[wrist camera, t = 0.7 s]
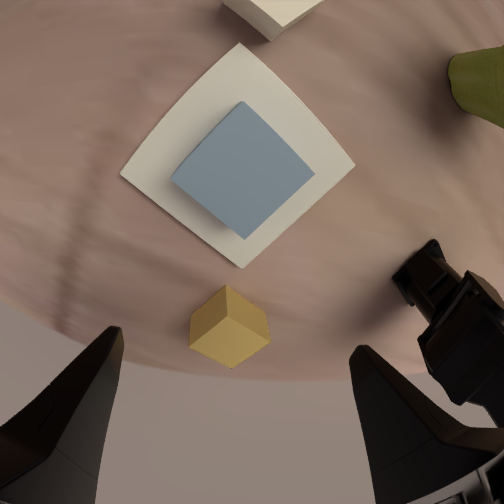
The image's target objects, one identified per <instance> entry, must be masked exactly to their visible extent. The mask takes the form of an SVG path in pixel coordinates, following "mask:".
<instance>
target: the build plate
mask: <svg viewBox="0 0 504 504" xmlns="http://www.w3.org/2000/svg"><path fill="white" fill-rule="evenodd" d="M241 101H244V102H245V103H246V104H247V105H248V106H249V107H251V108H252V109H253V110H254V111H255V112H256V113H257V114H258V115H259V116H260V117H261V118H262V119H263V120H264V121H265V122H266V123H267V124H268V125H269V126H270V127H271V128H272V129H273V130H274V131H275V132H276V133H277V134H278V135H279V136H280V137H281V138H282V139H283V140H284V141H285V142H286V143H287V144H288V145H289V146H290V147H291V148H292V149H293V150H294V151H295V152H296V153H297V154H298V156H299V157H300V158H301V159H302V160H303V161H304V162H305V163H306V164H307V165H308V166H309V167H310V169H311V170H312V171H313V172H314V173H315V175H314V176H313V177H312V178H310V179H309V180H308V181H307V182H306V183H305V184H304V185H303V186H302V187H301V188H300V189H299V190H298V191H296V192H295V193H294V194H293V195H292V196H291V197H290V198H289V199H288V200H287V201H286V202H285V203H284V204H282V205H281V206H280V207H279V208H278V209H277V210H276V211H275V212H274V213H273V214H272V215H271V216H270V217H269V218H268V219H266V220H265V221H264V222H263V223H262V224H261V225H260V226H259V227H258V228H257V229H256V230H255V231H254V232H253V233H252V234H251V235H250V236H248V237H247V238H246V239H245V240H244V239H243V238H241V237H240V236H239V235H238V234H236V233H235V232H234V231H233V230H232V229H230V228H229V227H228V226H227V225H226V224H224V223H223V222H222V221H221V220H219V219H218V218H217V217H216V216H215V215H213V214H212V213H211V212H210V211H208V210H207V209H206V208H205V207H204V206H202V205H201V204H200V203H199V202H197V201H196V200H195V199H194V198H193V197H191V196H190V195H189V194H188V193H186V192H185V191H184V190H183V189H182V188H180V187H179V186H178V185H177V184H175V183H174V182H173V181H172V180H171V179H170V178H171V176H172V174H173V173H174V171H175V170H176V168H177V167H178V166H179V165H180V164H181V162H182V161H183V160H184V159H185V158H186V157H187V156H188V154H189V153H190V152H191V151H192V150H193V149H194V148H195V147H196V146H197V145H198V143H199V142H200V141H201V140H202V139H203V138H204V137H205V136H206V135H207V134H208V133H209V132H210V131H211V130H212V129H213V128H214V127H215V126H216V125H217V124H218V123H219V122H220V121H221V120H222V119H223V118H224V117H225V116H226V115H227V114H228V113H229V112H230V111H231V110H232V109H233V108H234V107H235V106H236V105H237V104H238V103H239V102H241ZM355 166H356V165H355V164H354V163H353V161H352V160H351V159H350V158H349V156H348V155H347V154H346V152H345V151H344V150H343V149H342V147H341V146H340V145H339V144H338V142H337V141H336V140H335V139H334V138H333V136H332V135H331V134H330V133H329V132H328V130H327V129H326V128H325V127H324V126H323V124H322V123H321V122H320V121H319V120H318V119H317V118H316V116H315V115H314V114H313V113H312V112H311V111H310V110H309V109H308V108H307V106H306V105H305V104H304V103H303V102H302V101H301V100H300V99H299V98H298V97H297V96H296V95H295V94H294V93H293V92H292V91H291V90H290V89H289V88H288V87H287V86H286V85H285V84H284V83H283V82H282V81H281V80H280V79H279V78H278V77H277V76H276V75H275V74H274V73H273V72H272V71H271V70H270V69H269V68H268V67H267V66H266V65H265V64H264V63H262V62H261V61H260V60H259V59H258V58H257V57H256V56H255V55H254V54H252V53H251V52H250V51H249V50H248V49H247V48H246V47H244V46H243V45H242V44H241V43H238V44H237V45H236V46H235V47H234V48H233V49H231V50H230V51H229V52H228V53H227V54H226V55H224V56H223V57H222V58H221V59H220V60H219V61H218V62H217V63H216V64H215V65H213V66H212V67H211V68H210V69H209V70H208V71H207V72H206V73H205V74H204V75H203V76H202V77H201V78H200V79H199V80H198V81H197V82H196V83H195V84H194V85H193V86H192V87H191V88H190V89H189V90H188V91H187V92H186V93H185V94H184V95H183V96H182V97H181V98H180V100H179V101H178V102H177V103H176V104H175V105H174V106H173V107H172V108H171V109H170V111H169V112H168V113H167V114H166V115H165V116H164V117H163V119H162V120H161V121H160V122H159V123H158V124H157V126H156V127H155V128H154V129H153V130H152V132H151V133H150V134H149V135H148V137H147V138H146V139H145V140H144V142H143V143H142V144H141V145H140V147H139V148H138V149H137V151H136V152H135V153H134V155H133V156H132V157H131V159H130V160H129V161H128V163H127V164H126V165H125V167H124V168H123V170H122V171H121V172H120V174H121V175H122V176H123V177H124V178H125V179H127V180H128V181H129V182H130V183H132V184H133V185H134V186H135V187H137V188H138V189H139V190H140V191H142V192H143V193H144V194H145V195H147V196H148V197H149V198H150V199H152V200H153V201H154V202H156V203H157V204H158V205H159V206H161V207H162V208H163V209H164V210H166V211H167V212H168V213H170V214H171V215H172V216H173V217H175V218H176V219H177V220H178V221H180V222H181V223H182V224H184V225H185V226H186V227H187V228H189V229H190V230H191V231H193V232H194V233H195V234H196V235H198V236H199V237H200V238H202V239H203V240H204V241H206V242H207V243H208V244H209V245H211V246H212V247H213V248H215V249H216V250H217V251H219V252H220V253H221V254H222V255H224V256H225V257H226V258H228V259H229V260H230V261H232V262H233V263H234V264H236V265H237V266H238V267H240V268H241V269H243V268H244V267H245V266H246V265H247V264H249V263H250V262H251V261H252V260H253V259H254V258H255V257H256V256H257V255H258V254H260V253H261V252H262V251H263V250H264V249H265V248H266V247H267V246H268V245H269V244H271V243H272V242H273V241H274V240H275V239H276V238H277V237H278V236H279V235H280V234H282V233H283V232H284V231H285V230H286V229H287V228H288V227H289V226H290V225H291V224H293V223H294V222H295V221H296V220H297V219H298V218H299V217H300V216H301V215H302V214H303V213H305V212H306V211H307V210H308V209H309V208H310V207H311V206H312V205H313V204H314V203H316V202H317V201H318V200H319V199H320V198H321V197H322V196H323V195H324V194H325V193H326V192H328V191H329V190H330V189H331V188H332V187H333V186H334V185H335V184H336V183H337V182H338V181H339V180H341V179H342V178H343V177H344V176H345V175H346V174H347V173H348V172H349V171H350V170H351V169H352V168H354V167H355Z"/></svg>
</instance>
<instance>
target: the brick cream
mask: <svg viewBox="0 0 504 504" xmlns="http://www.w3.org/2000/svg"><path fill="white" fill-rule="evenodd" d="M325 1H326V0H223V4H225V5H226V6H227V7H229V8H230V9H231V10H233V11H234V12H235V13H237V14H238V15H239V16H241V17H242V18H243V19H244V20H246V21H247V22H248V23H249V24H251V25H252V26H253V27H254V28H255V29H257V30H258V31H259V32H260V33H261V34H262V35H264V36H265V37H266V38H267V39H268V40H269V41H270V42H271V41H272V40H273V39H275V38H276V37H277V36H278V35H280V34H281V33H282V32H284V31H285V30H286V29H288V28H289V27H291V26H292V25H293V24H295V23H296V22H298V21H299V20H300V19H302V18H303V17H305V16H306V15H308V14H309V13H311V12H312V11H314V10H315V9H316V8H318V7H319V6H320V5H321V4H322V3H324V2H325Z"/></svg>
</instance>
